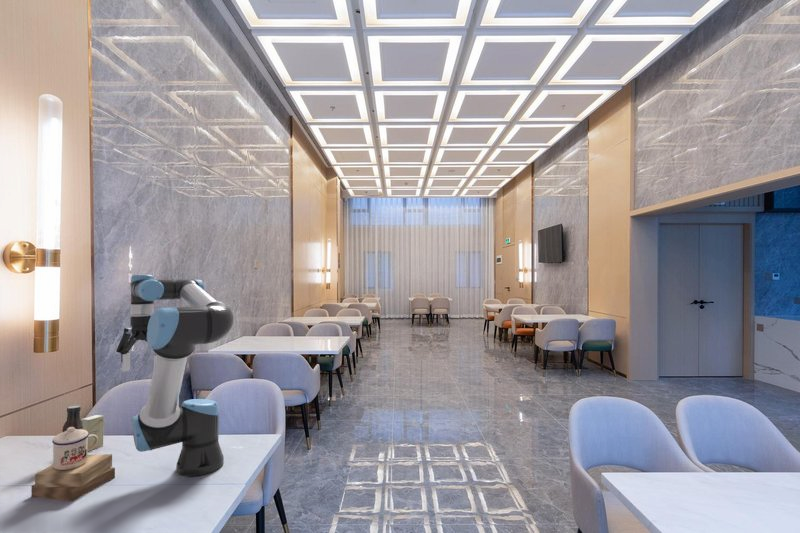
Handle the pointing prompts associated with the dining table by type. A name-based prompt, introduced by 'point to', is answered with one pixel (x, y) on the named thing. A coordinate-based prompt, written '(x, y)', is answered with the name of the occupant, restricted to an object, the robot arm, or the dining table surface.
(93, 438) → the skincare box
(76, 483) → the tower top block
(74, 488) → the tower base block
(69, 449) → the teacup with lid
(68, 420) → the sauce bottle
